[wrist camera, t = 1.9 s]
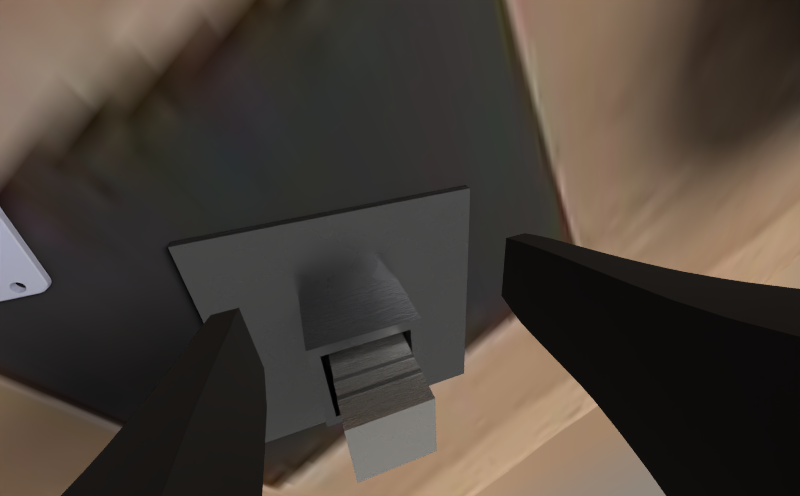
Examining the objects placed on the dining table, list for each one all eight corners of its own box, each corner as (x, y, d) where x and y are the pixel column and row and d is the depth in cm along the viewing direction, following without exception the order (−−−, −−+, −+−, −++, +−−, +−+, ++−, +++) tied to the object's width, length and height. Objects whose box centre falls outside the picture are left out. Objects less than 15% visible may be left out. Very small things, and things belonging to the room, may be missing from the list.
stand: (261, 436, 24) (259, 505, 20) (171, 241, 16) (140, 295, 12) (460, 367, 28) (490, 415, 24) (465, 185, 20) (510, 212, 16)
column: (330, 359, 22) (356, 483, 16) (318, 311, 20) (343, 431, 14) (389, 341, 23) (437, 451, 17) (383, 294, 21) (435, 397, 15)
